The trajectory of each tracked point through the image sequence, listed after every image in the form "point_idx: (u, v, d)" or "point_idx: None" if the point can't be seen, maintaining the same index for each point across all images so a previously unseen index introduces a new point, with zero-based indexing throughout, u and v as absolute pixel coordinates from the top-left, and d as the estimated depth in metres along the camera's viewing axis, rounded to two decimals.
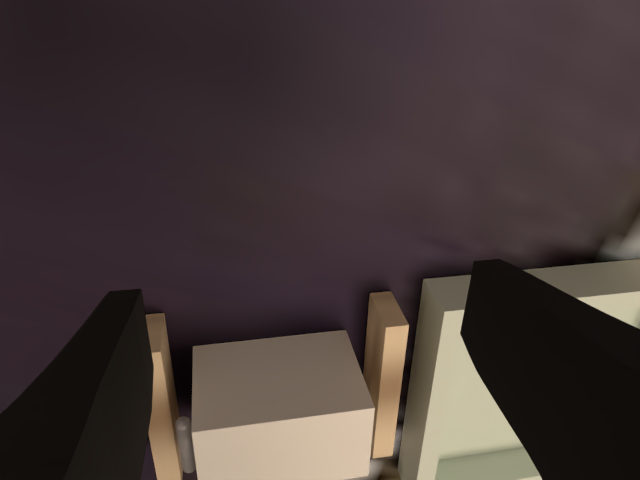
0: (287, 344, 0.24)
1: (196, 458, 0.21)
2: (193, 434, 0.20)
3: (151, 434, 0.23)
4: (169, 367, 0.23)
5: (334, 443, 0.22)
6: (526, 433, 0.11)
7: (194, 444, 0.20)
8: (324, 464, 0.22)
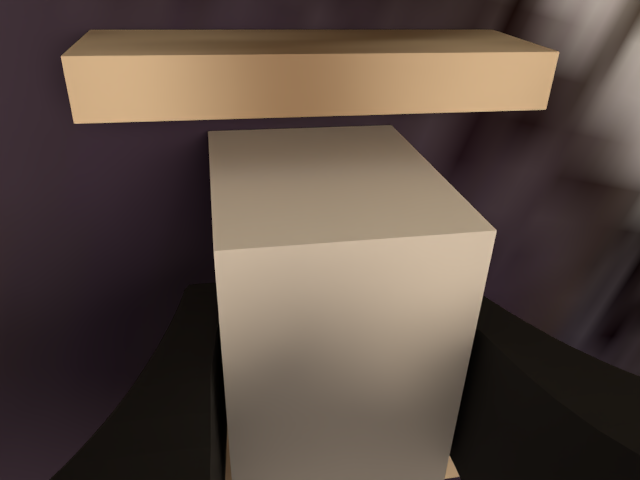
0: None
1: None
2: None
3: None
4: None
5: (336, 332, 0.08)
6: (452, 444, 0.10)
7: None
8: (407, 343, 0.09)
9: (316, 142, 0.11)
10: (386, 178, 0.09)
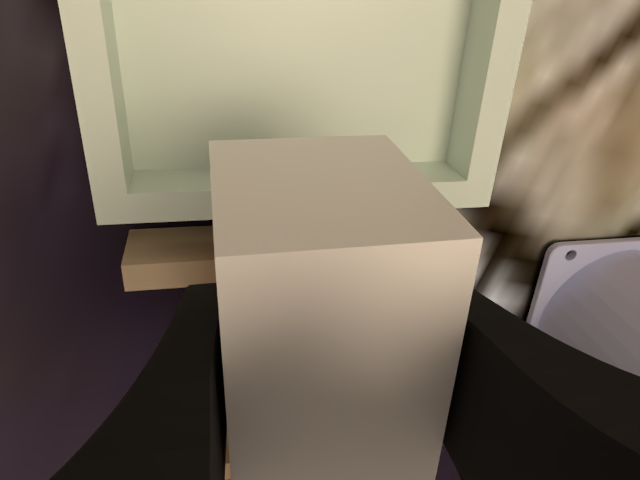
0: None
1: None
2: None
3: None
4: None
5: (331, 335, 0.09)
6: (452, 444, 0.10)
7: None
8: (399, 345, 0.09)
9: (313, 151, 0.11)
10: (379, 186, 0.10)
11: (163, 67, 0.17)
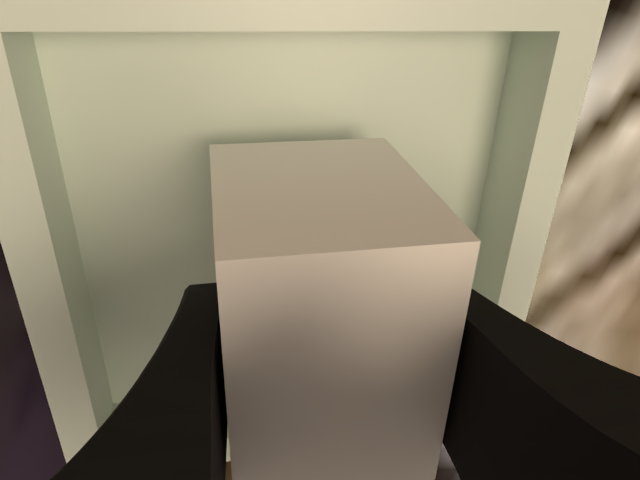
0: None
1: None
2: None
3: None
4: None
5: (330, 337, 0.09)
6: (452, 444, 0.10)
7: None
8: (398, 348, 0.09)
9: (312, 155, 0.11)
10: (377, 190, 0.10)
11: (141, 311, 0.15)
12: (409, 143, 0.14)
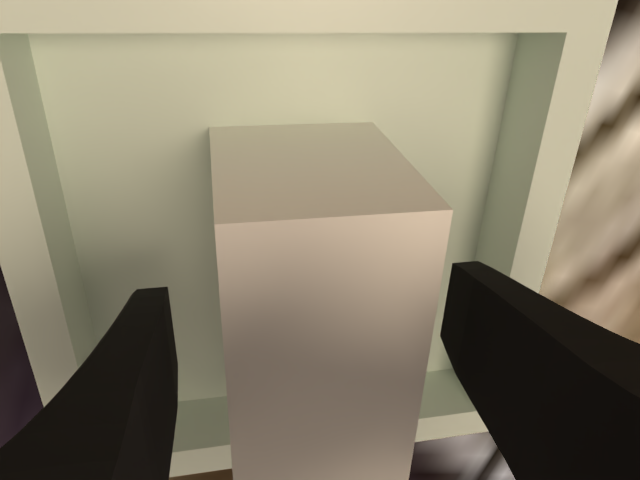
0: None
1: None
2: None
3: None
4: None
5: (318, 297, 0.10)
6: (502, 437, 0.10)
7: None
8: (379, 308, 0.10)
9: (304, 137, 0.12)
10: (363, 166, 0.11)
11: None
12: (412, 145, 0.14)
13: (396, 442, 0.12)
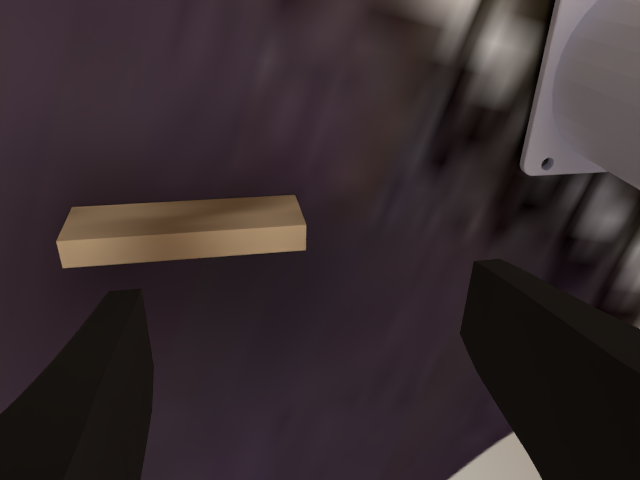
0: None
1: None
2: None
3: (199, 255, 0.18)
4: (136, 213, 0.19)
5: None
6: (526, 433, 0.11)
7: None
8: None
9: None
10: None
11: None
12: None
13: None
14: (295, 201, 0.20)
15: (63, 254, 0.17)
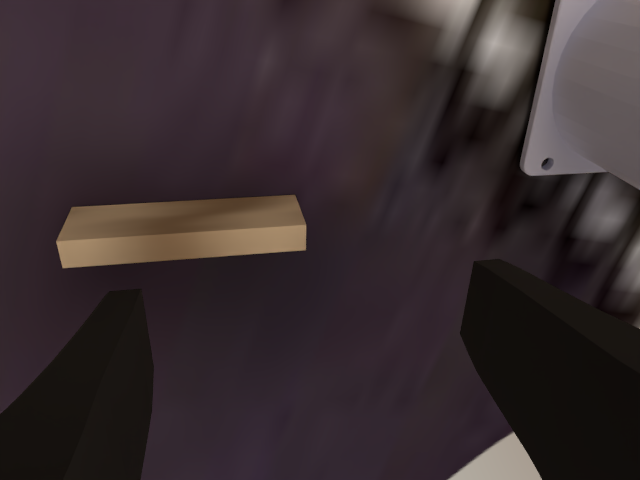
0: None
1: None
2: None
3: (199, 255, 0.18)
4: (136, 213, 0.19)
5: None
6: (526, 433, 0.11)
7: None
8: None
9: None
10: None
11: None
12: None
13: None
14: (295, 201, 0.20)
15: (63, 254, 0.17)
